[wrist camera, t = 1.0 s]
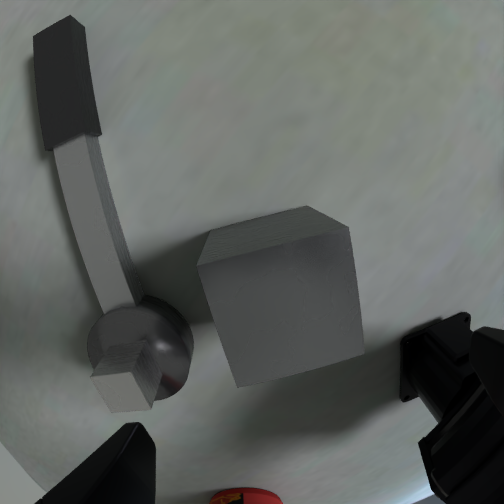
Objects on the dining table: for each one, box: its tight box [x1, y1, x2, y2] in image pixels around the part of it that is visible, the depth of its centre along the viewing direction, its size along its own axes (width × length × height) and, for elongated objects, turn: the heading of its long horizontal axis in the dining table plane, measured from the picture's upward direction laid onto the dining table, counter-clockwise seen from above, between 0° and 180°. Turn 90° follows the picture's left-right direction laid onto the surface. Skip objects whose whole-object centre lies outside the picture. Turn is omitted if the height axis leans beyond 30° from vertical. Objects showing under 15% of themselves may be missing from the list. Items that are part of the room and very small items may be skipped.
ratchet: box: [33, 15, 194, 413], centre depth 14 cm, size 24×6×6 cm, turn 14°
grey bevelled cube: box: [196, 206, 365, 388], centre depth 15 cm, size 6×6×7 cm
